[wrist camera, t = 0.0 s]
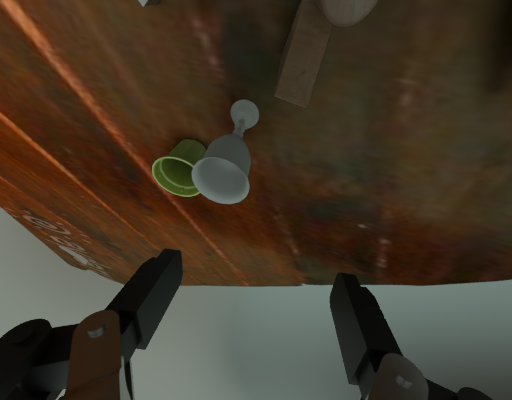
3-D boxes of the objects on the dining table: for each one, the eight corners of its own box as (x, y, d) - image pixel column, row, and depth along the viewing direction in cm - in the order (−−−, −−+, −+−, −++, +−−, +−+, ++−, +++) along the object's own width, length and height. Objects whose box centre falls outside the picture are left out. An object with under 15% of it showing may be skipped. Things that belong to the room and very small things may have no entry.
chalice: (218, 98, 36) (179, 163, 24) (257, 87, 34) (235, 151, 22) (234, 136, 41) (209, 206, 29) (268, 129, 39) (257, 200, 27)
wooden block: (280, 58, 31) (270, 114, 19) (317, -51, 23) (343, -77, 11) (303, 68, 32) (308, 129, 19) (347, -36, 24) (404, -44, 12)
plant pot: (224, 153, 44) (214, 181, 38) (199, 176, 50) (186, 203, 44) (186, 121, 40) (167, 146, 34) (163, 149, 45) (143, 175, 40)
